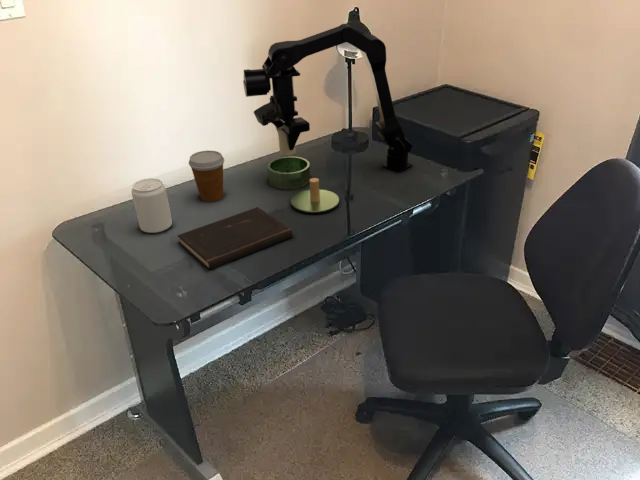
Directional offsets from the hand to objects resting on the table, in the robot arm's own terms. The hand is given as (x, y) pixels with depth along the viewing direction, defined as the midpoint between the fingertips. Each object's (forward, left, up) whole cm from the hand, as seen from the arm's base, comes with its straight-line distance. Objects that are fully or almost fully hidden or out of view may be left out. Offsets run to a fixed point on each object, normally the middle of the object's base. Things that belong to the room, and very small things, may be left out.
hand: (287, 146), depth 174 cm
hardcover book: (+33, +15, -11) cm, 37 cm away
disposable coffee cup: (+22, -9, -11) cm, 26 cm away
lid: (+6, +16, -10) cm, 20 cm away
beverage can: (+42, -6, -11) cm, 43 cm away
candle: (0, 0, -2) cm, 2 cm away
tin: (0, 0, -11) cm, 11 cm away
